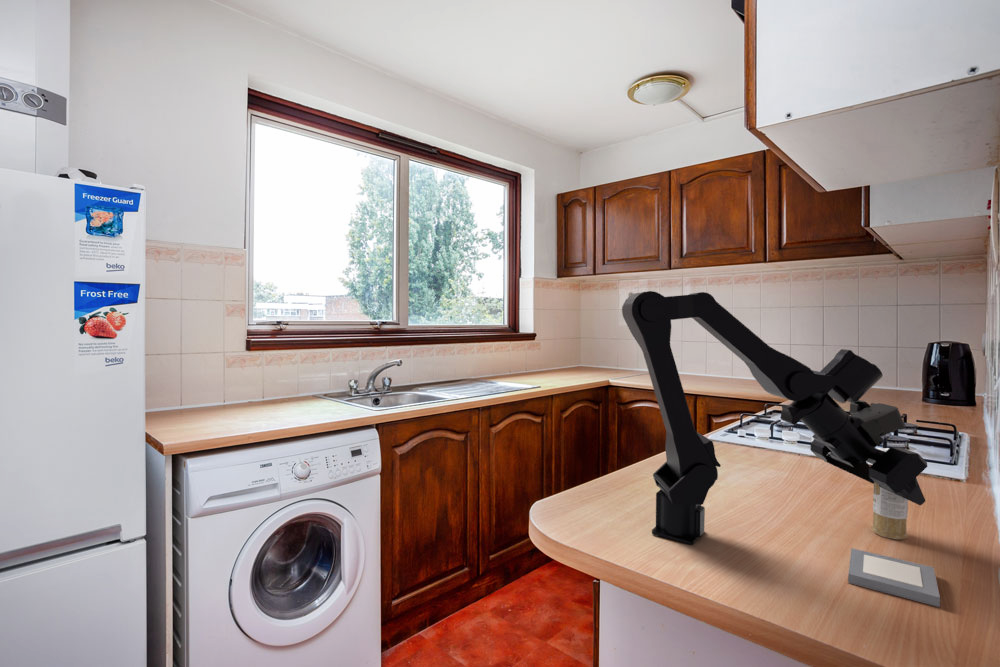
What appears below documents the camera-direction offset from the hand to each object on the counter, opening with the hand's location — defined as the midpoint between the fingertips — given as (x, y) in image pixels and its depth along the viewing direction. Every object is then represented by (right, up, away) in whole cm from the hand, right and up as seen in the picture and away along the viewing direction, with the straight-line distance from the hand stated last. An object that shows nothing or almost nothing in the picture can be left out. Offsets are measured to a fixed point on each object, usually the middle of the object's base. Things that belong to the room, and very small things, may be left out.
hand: (898, 492), depth 79 cm
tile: (-12, -7, -13) cm, 19 cm away
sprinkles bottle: (-1, -7, 0) cm, 7 cm away
